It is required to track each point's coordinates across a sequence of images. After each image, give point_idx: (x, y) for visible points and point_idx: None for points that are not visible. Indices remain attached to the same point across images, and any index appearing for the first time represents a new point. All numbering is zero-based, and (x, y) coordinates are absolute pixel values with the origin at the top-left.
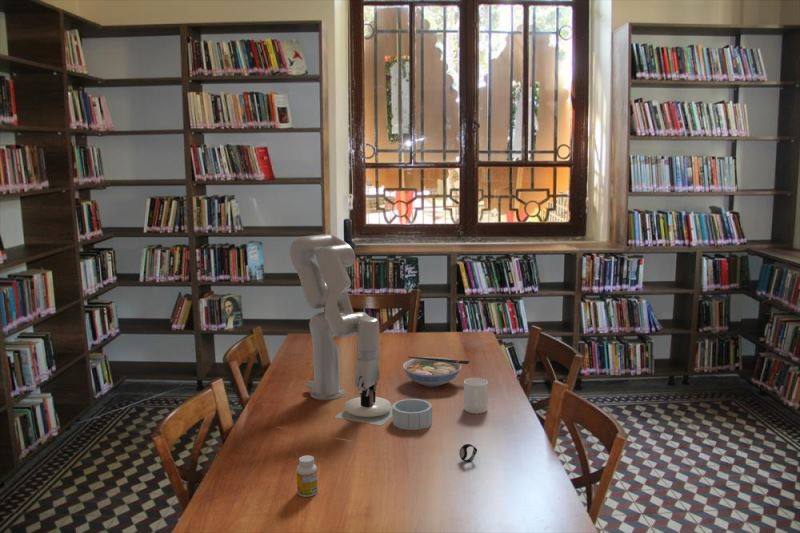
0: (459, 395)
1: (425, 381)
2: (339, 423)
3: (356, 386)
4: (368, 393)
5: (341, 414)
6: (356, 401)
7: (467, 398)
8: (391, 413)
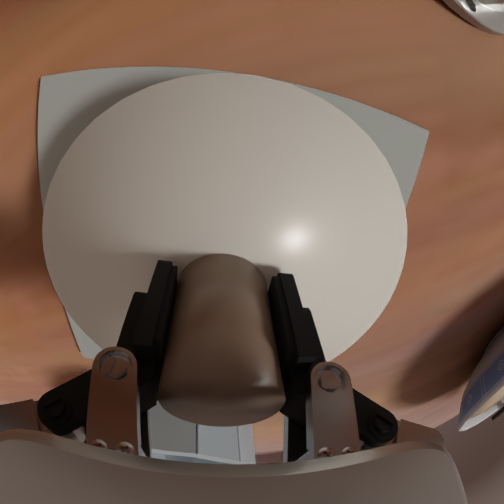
0: (412, 411)
1: (478, 379)
2: (3, 157)
3: (13, 437)
4: (144, 420)
5: (97, 93)
6: (270, 170)
7: None
8: None
